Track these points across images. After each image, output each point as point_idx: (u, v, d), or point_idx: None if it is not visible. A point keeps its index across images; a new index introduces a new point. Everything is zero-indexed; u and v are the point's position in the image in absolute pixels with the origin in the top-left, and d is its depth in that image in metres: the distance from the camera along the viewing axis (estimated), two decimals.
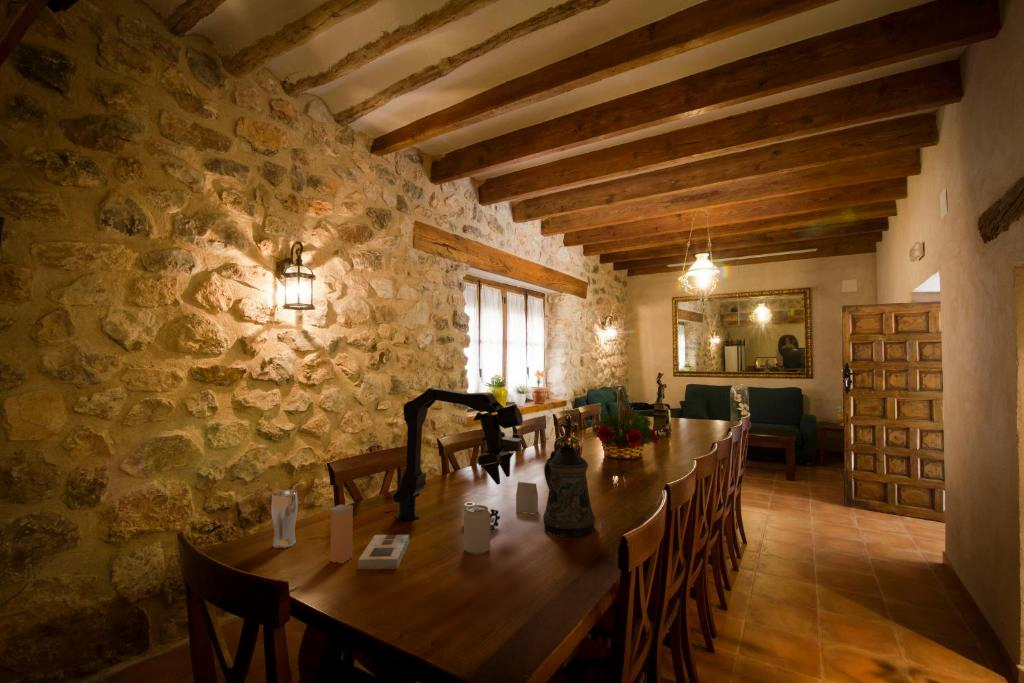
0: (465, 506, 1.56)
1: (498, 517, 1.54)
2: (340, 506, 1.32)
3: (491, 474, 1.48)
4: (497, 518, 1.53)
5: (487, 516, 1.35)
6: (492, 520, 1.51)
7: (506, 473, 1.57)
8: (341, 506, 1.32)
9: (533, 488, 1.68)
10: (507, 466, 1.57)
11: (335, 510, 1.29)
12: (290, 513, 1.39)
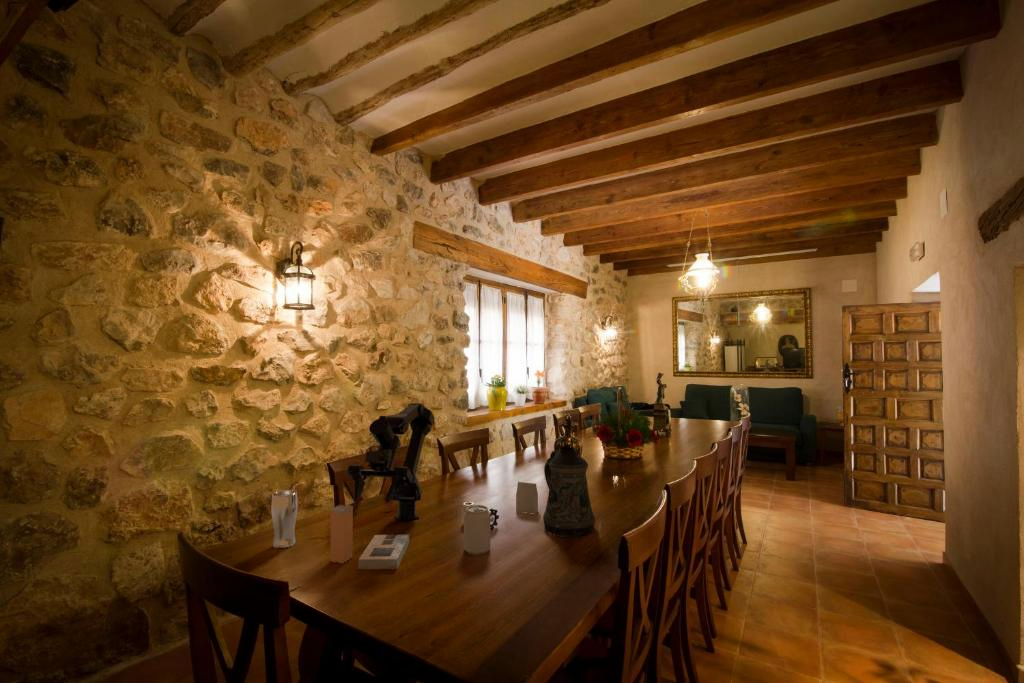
0: (464, 506, 1.56)
1: (497, 516, 1.54)
2: (340, 506, 1.32)
3: None
4: (496, 517, 1.54)
5: (487, 516, 1.35)
6: (491, 519, 1.52)
7: None
8: (341, 506, 1.32)
9: (533, 488, 1.68)
10: None
11: (335, 510, 1.29)
12: (290, 513, 1.39)
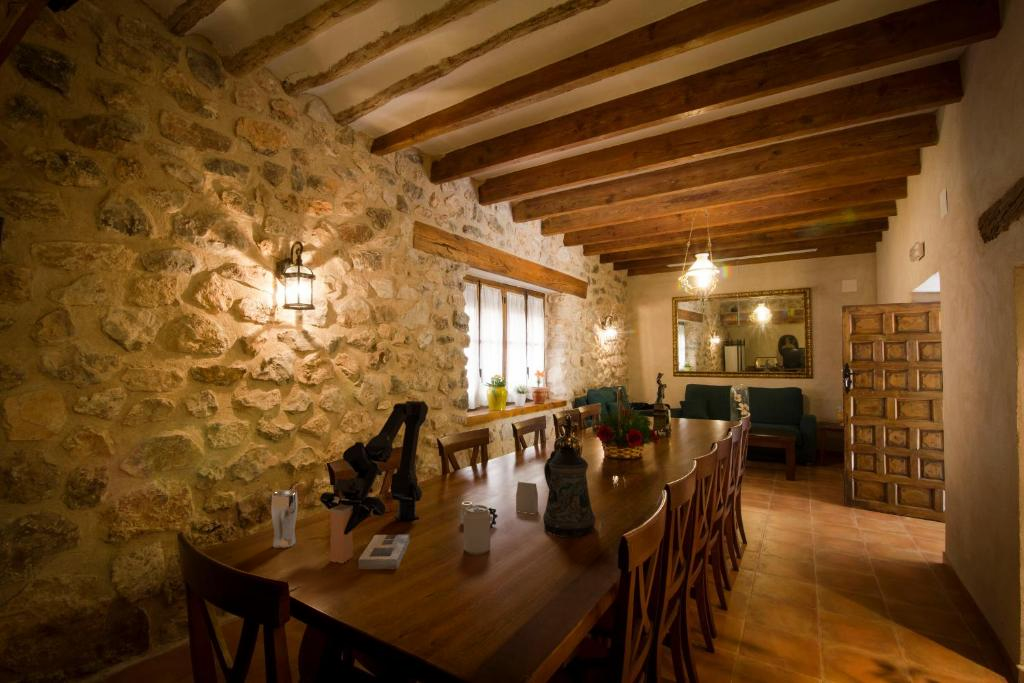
0: (462, 505, 1.57)
1: (496, 516, 1.55)
2: (340, 506, 1.32)
3: None
4: (495, 517, 1.55)
5: (487, 516, 1.35)
6: (490, 519, 1.53)
7: None
8: (341, 506, 1.32)
9: (533, 488, 1.68)
10: None
11: (335, 510, 1.29)
12: (290, 513, 1.39)
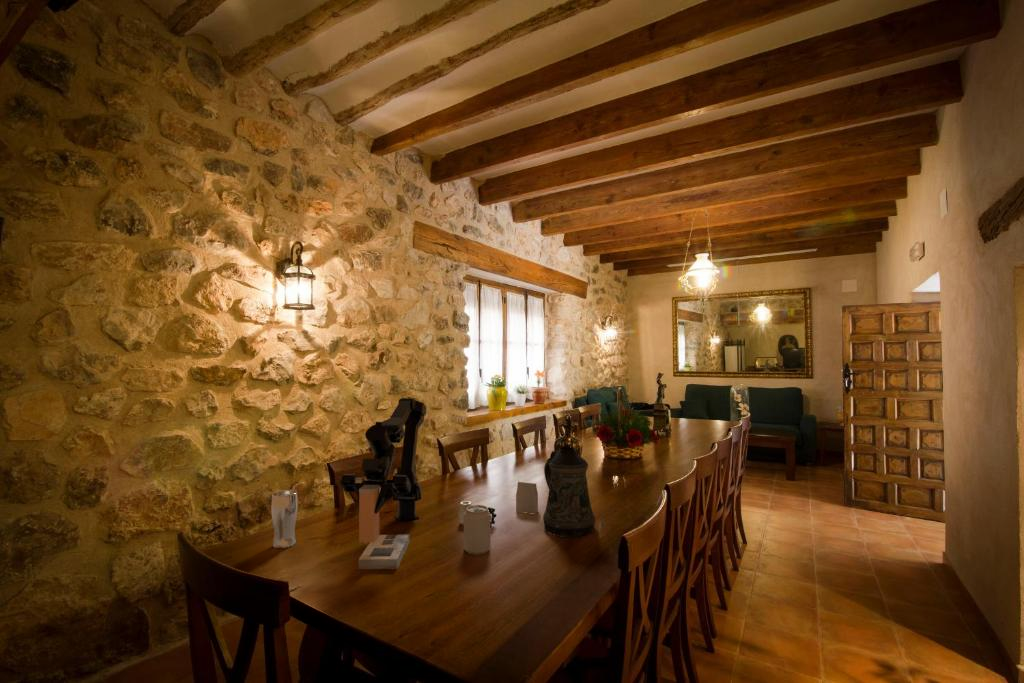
0: (461, 505, 1.57)
1: (495, 515, 1.55)
2: (367, 486, 1.30)
3: None
4: (494, 516, 1.55)
5: (487, 516, 1.35)
6: None
7: None
8: (368, 486, 1.30)
9: (533, 488, 1.68)
10: None
11: (364, 490, 1.28)
12: (290, 513, 1.39)
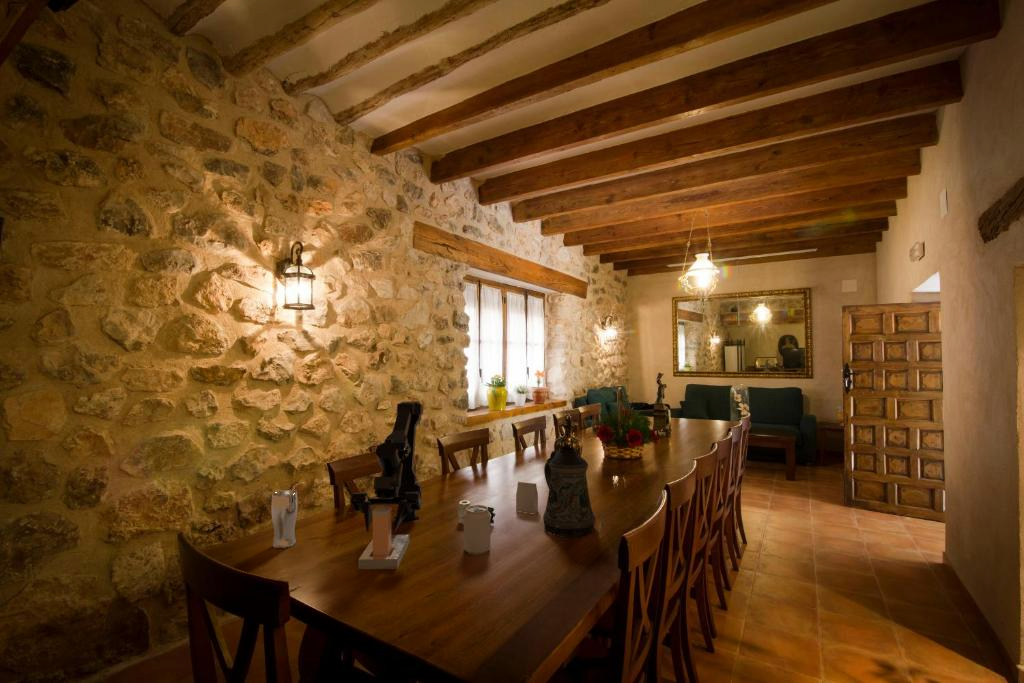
0: (460, 504, 1.58)
1: (494, 514, 1.56)
2: (379, 508, 1.30)
3: None
4: (493, 515, 1.56)
5: (487, 516, 1.35)
6: None
7: None
8: (380, 508, 1.30)
9: (533, 488, 1.68)
10: None
11: (378, 512, 1.28)
12: (290, 513, 1.39)
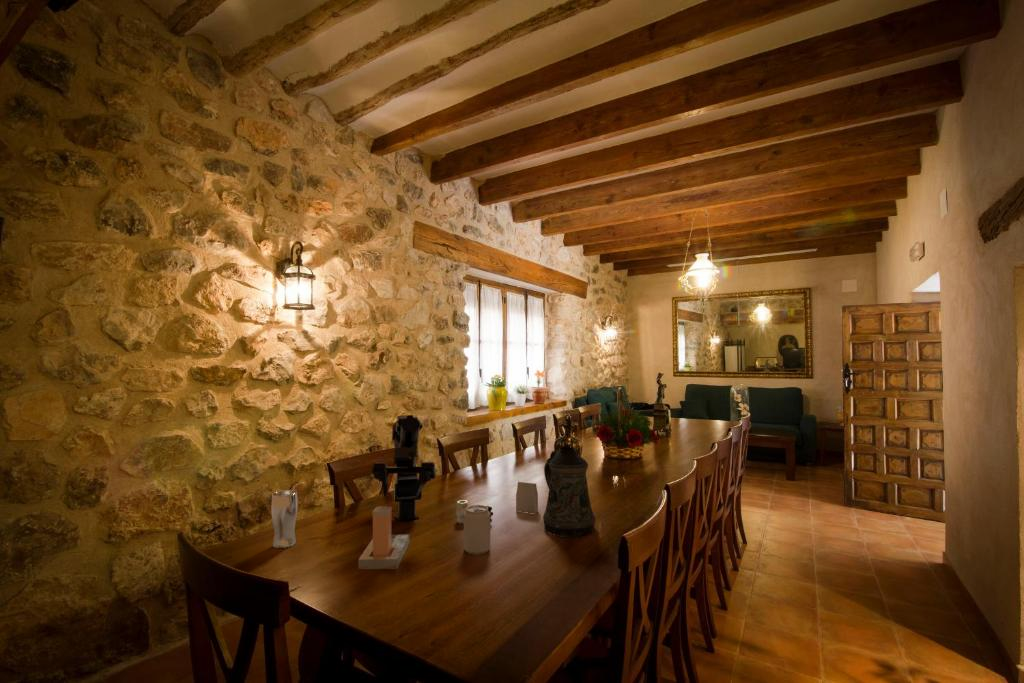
0: (458, 504, 1.58)
1: (491, 513, 1.57)
2: (379, 508, 1.30)
3: None
4: (491, 514, 1.57)
5: (487, 516, 1.35)
6: None
7: (416, 492, 1.43)
8: (380, 508, 1.30)
9: (533, 488, 1.68)
10: None
11: (378, 512, 1.28)
12: (290, 513, 1.39)
